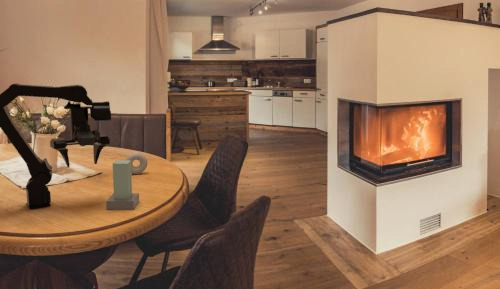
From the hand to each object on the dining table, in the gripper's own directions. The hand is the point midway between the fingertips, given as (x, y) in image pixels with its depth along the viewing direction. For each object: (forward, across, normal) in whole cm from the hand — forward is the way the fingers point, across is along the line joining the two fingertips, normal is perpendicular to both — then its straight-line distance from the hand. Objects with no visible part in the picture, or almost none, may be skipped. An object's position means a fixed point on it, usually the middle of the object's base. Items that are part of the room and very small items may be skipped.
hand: (82, 165), depth 144 cm
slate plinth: (+13, +10, -12) cm, 20 cm away
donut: (+13, +31, +26) cm, 43 cm away
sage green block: (+10, +10, -12) cm, 19 cm away
